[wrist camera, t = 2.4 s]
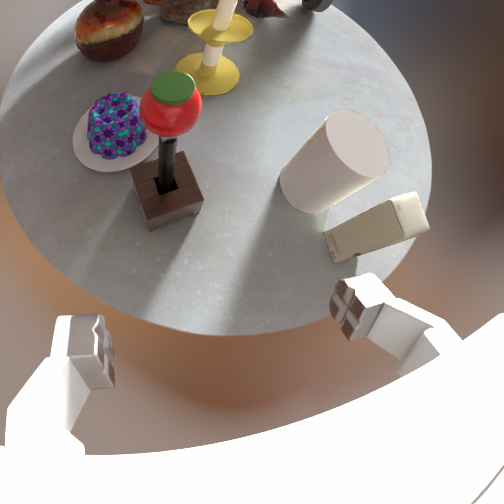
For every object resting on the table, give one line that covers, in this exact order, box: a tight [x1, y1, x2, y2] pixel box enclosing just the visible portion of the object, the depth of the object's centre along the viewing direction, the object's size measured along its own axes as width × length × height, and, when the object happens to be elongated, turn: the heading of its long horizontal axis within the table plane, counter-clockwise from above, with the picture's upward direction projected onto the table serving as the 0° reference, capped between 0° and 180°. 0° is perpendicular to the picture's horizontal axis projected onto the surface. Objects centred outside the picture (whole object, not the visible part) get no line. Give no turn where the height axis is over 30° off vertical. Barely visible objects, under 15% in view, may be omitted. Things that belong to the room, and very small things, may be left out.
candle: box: [174, 0, 253, 95], centre depth 24 cm, size 10×10×27 cm
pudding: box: [72, 92, 159, 172], centre depth 29 cm, size 12×12×5 cm
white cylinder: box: [280, 109, 390, 214], centre depth 32 cm, size 8×8×12 cm
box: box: [324, 192, 429, 263], centre depth 31 cm, size 5×4×13 cm
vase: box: [74, 0, 144, 61], centre depth 26 cm, size 11×11×15 cm
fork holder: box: [130, 151, 204, 232], centre depth 29 cm, size 6×6×4 cm
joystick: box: [139, 71, 202, 195], centre depth 23 cm, size 4×4×19 cm
